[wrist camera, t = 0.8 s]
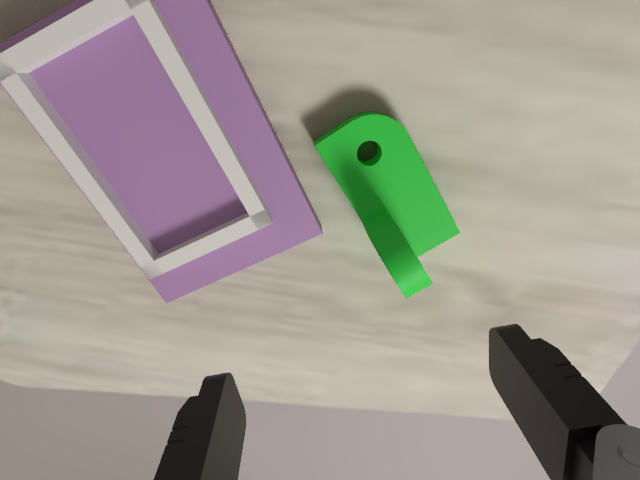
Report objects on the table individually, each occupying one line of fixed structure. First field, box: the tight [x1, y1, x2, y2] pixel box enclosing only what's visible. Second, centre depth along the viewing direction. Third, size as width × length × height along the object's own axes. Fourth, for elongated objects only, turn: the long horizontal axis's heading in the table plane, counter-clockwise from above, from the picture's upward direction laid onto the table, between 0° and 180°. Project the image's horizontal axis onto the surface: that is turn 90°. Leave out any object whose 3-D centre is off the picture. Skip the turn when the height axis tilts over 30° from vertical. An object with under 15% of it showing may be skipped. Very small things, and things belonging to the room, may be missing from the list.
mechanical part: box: [313, 112, 460, 298], centre depth 27 cm, size 12×6×8 cm, turn 32°
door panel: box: [0, 0, 323, 303], centre depth 27 cm, size 14×20×3 cm
